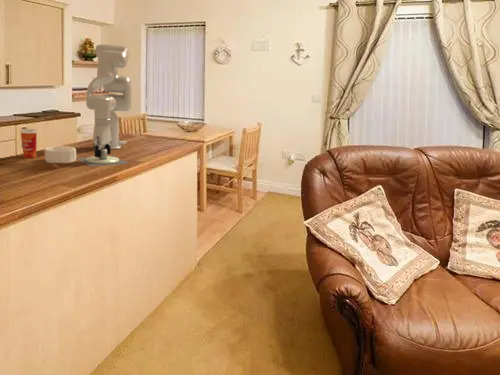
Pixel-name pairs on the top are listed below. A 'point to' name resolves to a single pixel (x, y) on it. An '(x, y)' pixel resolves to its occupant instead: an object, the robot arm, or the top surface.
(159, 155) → the top surface
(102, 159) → the lid
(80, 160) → the mat
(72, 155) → the bowl
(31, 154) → the paper cup
